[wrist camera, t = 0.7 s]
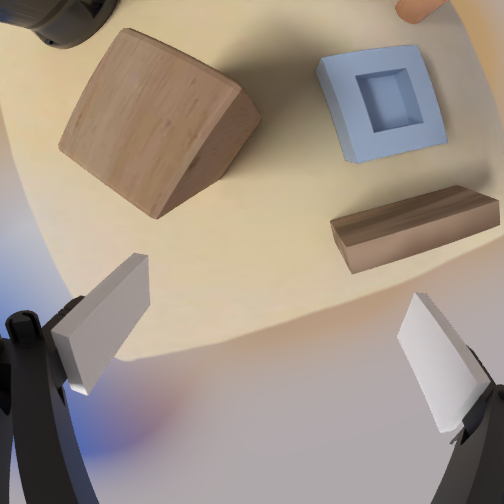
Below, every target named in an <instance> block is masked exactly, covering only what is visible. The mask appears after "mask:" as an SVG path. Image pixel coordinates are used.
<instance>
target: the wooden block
mask: <svg viewBox="0 0 504 504" xmlns="http://www.w3.org/2000/svg"><path fill="white" fill-rule="evenodd" d="M261 120H262V117H261V115H260V114H259V112H258V111H257V109H256V107H255V106H254V104H253V103H252V101H251V99H250V98H249V96H248V95H247V93H246V92H245V90H244V89H243V87H242V86H241V84H240V83H238V82H236V81H235V80H233V79H231V78H230V77H228V76H226V75H224V74H223V73H221V72H219V71H217V70H216V69H214V68H212V67H210V66H209V65H207V64H205V63H203V62H201V61H199V60H197V59H195V58H194V57H192V56H190V55H188V54H186V53H184V52H182V51H180V50H178V49H176V48H174V47H172V46H170V45H167V44H165V43H163V42H161V41H159V40H157V39H155V38H152V37H150V36H148V35H145V34H143V33H141V32H138V31H136V30H134V29H131V28H123V29H122V30H121V31H120V32H119V34H118V35H117V37H116V38H115V39H114V41H113V42H112V44H111V45H110V47H109V49H108V50H107V52H106V53H105V55H104V56H103V58H102V60H101V61H100V63H99V65H98V66H97V68H96V70H95V71H94V73H93V75H92V76H91V78H90V80H89V82H88V84H87V85H86V87H85V89H84V91H83V93H82V95H81V97H80V99H79V101H78V103H77V105H76V107H75V109H74V111H73V113H72V115H71V117H70V119H69V122H68V124H67V126H66V128H65V130H64V133H63V135H62V137H61V140H60V142H59V150H60V151H61V152H63V153H64V154H65V155H67V156H68V157H69V158H71V159H72V160H73V161H75V162H76V163H77V164H79V165H80V166H81V167H83V168H84V169H85V170H87V171H88V172H89V173H91V174H92V175H93V176H95V177H96V178H97V179H99V180H100V181H101V182H103V183H104V184H106V185H107V186H108V187H110V188H111V189H112V190H114V191H115V192H116V193H118V194H119V195H121V196H122V197H123V198H125V199H126V200H127V201H129V202H130V203H132V204H133V205H134V206H136V207H137V208H139V209H140V210H141V211H143V212H144V213H146V214H147V215H148V216H150V217H151V218H154V219H159V218H161V217H162V216H164V215H165V214H167V213H168V212H170V211H171V210H173V209H174V208H176V207H177V206H179V205H180V204H182V203H183V202H185V201H186V200H188V199H189V198H191V197H193V196H194V195H196V194H197V193H199V192H200V191H202V190H204V189H205V188H207V187H208V186H210V185H212V184H213V183H215V182H217V181H218V180H219V179H220V178H221V176H222V175H223V174H224V172H225V171H226V169H227V168H228V166H229V165H230V163H231V162H232V161H233V159H234V158H235V156H236V155H237V153H238V152H239V151H240V149H241V148H242V146H243V145H244V144H245V142H246V141H247V139H248V138H249V137H250V135H251V134H252V133H253V131H254V130H255V128H256V127H257V126H258V124H259V123H260V122H261Z"/></svg>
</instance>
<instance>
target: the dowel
mask: <svg viewBox="0 0 504 504" xmlns="http://www.w3.org/2000/svg"><path fill="white" fill-rule="evenodd" d="M446 1H448V0H399V2H398V3H397V4H396V11H397V13H398V15H399V16H400V17H401V18H402V19H403V20H405V21H406V22H409V23H412V24H416V23H418V22H420V21H421V20H422V19H424V18H425V17H426V16H427V15H429V14H430V13H431V12H433V11H434V10H435V9H437V8H438V7H440V6H441V5H442V4H444V3H445V2H446Z"/></svg>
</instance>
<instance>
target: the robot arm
mask: <svg viewBox="0 0 504 504" xmlns="http://www.w3.org/2000/svg"><path fill="white" fill-rule="evenodd" d="M116 2H117V0H0V22H2V23H6V24H11V25H15V26H19V27H24V28H27V29H30V30H31V31H33V32H34V33H35V34H36V35H37V36H38V37H39V38H40V39H41V40H42V41H43V42H44V43H45V44H46V45H48V46H51V47H54V48H58V49H67V48H71V47H74V46H76V45H78V44H80V43H82V42H84V41H85V40H86V39H88V38H89V37H90V36H92V35H93V34H94V33H95V32H96V31H97V30H98V29H99V28H100V27H101V26H102V25H103V23H104V22H105V21H106V20H107V18H108V17H109V15H110V14H111V12H112V11H113V9H114V7H115V4H116ZM149 306H150V292H149V268H148V255H143V254H137V253H134V254H132V255H131V256H130V257H129V258H128V259H127V260H125V261H124V262H123V263H122V264H121V265H120V266H119V267H118V268H116V269H115V270H114V271H113V272H112V273H111V274H110V275H109V276H107V277H106V278H105V279H104V280H103V281H102V282H101V283H100V284H99V285H98V286H96V287H95V288H94V289H93V290H92V291H91V292H90V293H89V294H88V295H87V296H86V297H85V296H79V297H77V298H75V299H73V300H71V301H70V302H69V303H68V304H66V305H65V306H64V308H63V309H61V310H60V311H59V312H58V314H56V315H55V316H54V317H53V318H52V319H51V320H50V321H48V322H47V323H46V324H45V325H44V326H43V327H42V328H41V325H40V322H39V318H38V315H37V314H36V313H34V312H33V311H29V310H26V311H19V312H16V313H14V314H12V315H11V316H10V317H9V318H8V319H7V320H6V323H5V326H6V328H7V331H8V334H9V337H10V339H6V338H1V335H0V504H9V478H10V462H11V451H12V442H13V434H14V441H15V449H16V456H17V462H18V468H19V473H20V478H21V483H22V488H23V491H24V496H25V500H26V503H27V504H99V502H98V500H97V497H96V495H95V492H94V490H93V487H92V485H91V482H90V479H89V477H88V474H87V471H86V468H85V466H84V462H83V460H82V456H81V453H80V450H79V447H78V443H77V440H76V436H75V433H74V429H73V426H72V421H71V417H70V413H69V409H68V404H67V400H66V395H65V391H64V388H63V386H62V385H63V383H64V382H65V381H66V379H68V382H69V384H70V386H71V389H72V390H75V391H77V392H79V393H82V394H85V395H87V396H88V395H89V394H90V392H91V390H92V388H93V387H94V385H95V384H96V383H97V381H98V380H99V378H100V377H101V375H102V374H103V372H104V371H105V369H106V368H107V366H108V365H109V363H110V361H111V360H112V359H113V357H114V356H115V354H116V353H117V351H118V350H119V348H120V347H121V345H122V344H123V342H124V341H125V340H126V338H127V337H128V335H129V334H130V332H131V331H132V329H133V328H134V327H135V325H136V324H137V322H138V321H139V320H140V318H141V317H142V315H143V314H144V312H145V311H146V310H147V308H148V307H149ZM397 338H398V340H399V342H400V344H401V346H402V348H403V350H404V352H405V354H406V356H407V358H408V361H409V363H410V365H411V367H412V369H413V371H414V373H415V375H416V378H417V380H418V382H419V384H420V387H421V389H422V391H423V393H424V396H425V398H426V400H427V403H428V405H429V407H430V409H431V412H432V414H433V417H434V419H435V422H436V424H437V427H438V429H439V432H440V433H443V432H448V431H453V430H454V429H455V428H456V427H457V426H458V425H459V423H460V422H461V421H463V424H464V427H463V428H462V430H461V431H460V432H459V433H458V434H457V435H456V437H455V438H454V439H453V440H452V441H451V442H450V444H453V443H454V441H456V440H457V442H456V445H455V448H454V451H453V453H452V456H451V459H450V461H449V464H448V466H447V469H446V471H445V474H444V476H443V478H442V481H441V483H440V485H439V487H438V489H437V492H436V494H435V496H434V498H433V500H432V502H431V504H504V385H502V384H500V385H496V384H495V382H494V381H493V379H492V378H491V376H490V375H489V373H488V372H487V370H486V369H485V367H484V366H482V363H481V361H480V360H478V357H477V355H476V354H475V353H474V351H473V350H472V349H470V348H469V347H468V346H467V345H466V344H465V343H464V341H463V340H462V339H461V338H460V336H459V335H458V333H457V332H456V331H455V329H454V328H453V327H452V325H451V324H450V323H449V321H448V320H447V319H446V317H445V316H444V315H443V314H442V312H441V311H440V310H439V309H438V307H437V306H436V305H435V303H434V302H433V301H432V300H431V299H430V298H429V296H428V295H427V294H426V293H417V292H415V293H414V295H413V298H412V301H411V304H410V306H409V309H408V311H407V314H406V316H405V319H404V321H403V324H402V326H401V328H400V331H399V333H398V335H397Z"/></svg>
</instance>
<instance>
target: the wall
mask: <svg viewBox="0 0 504 504" xmlns="http://www.w3.org/2000/svg"><path fill="white" fill-rule="evenodd" d="M330 224H331V227H332V231H333V235H334V239H335V243H336V245H337V247H338V248H339V250H340V252H341V254H342V256H343V258H344V260H345V262H346V264H347V266H348V268H349V270H350V271H351V273H352V274H355V273H358V272H362V271H365V270H368V269H372V268H375V267H378V266H381V265H385V264H388V263H391V262H394V261H397V260H401V259H404V258H407V257H410V256H413V255H416V254H419V253H422V252H425V251H428V250H431V249H434V248H437V247H440V246H443V245H446V244H449V243H452V242H455V241H457V240H460V239H463V238H466V237H469V236H471V235H474V234H477V233H480V232H482V231H485V230H488V229H491V228H493V227H496V226H498V225H500V212H499V200H496V199H494V198H491V197H489V196H486V195H483V194H480V193H477V192H475V191H472V190H469V189H466V188H463V187H460V186H453V187H449V188H446V189H442V190H439V191H435V192H431V193H428V194H424V195H421V196H417V197H413V198H410V199H406V200H403V201H399V202H396V203H392V204H388V205H385V206H381V207H378V208H374V209H371V210H367V211H364V212H360V213H357V214H353V215H350V216H346V217H343V218H339V219H336V220H332V221H330Z"/></svg>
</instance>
